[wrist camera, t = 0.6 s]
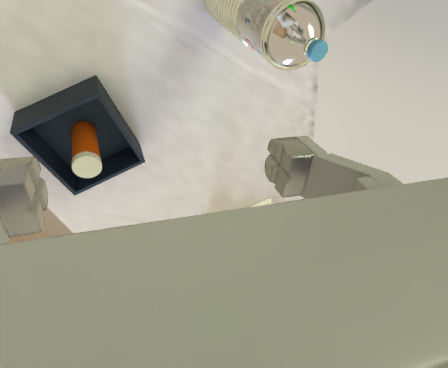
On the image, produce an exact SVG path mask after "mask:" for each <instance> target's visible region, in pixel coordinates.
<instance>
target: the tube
mask: <svg viewBox="0 0 448 368" xmlns="http://www.w3.org/2000/svg"><path fill="white" fill-rule="evenodd" d="M71 137H72V170H73V172H74V173H75V174H76V175H77V176H79V177H82V178H92V177H95V176H97V175H98V174H99V173H100V172H101V170H102V162H101V158H100V153H99V146H98V139H97V132H96V128H95V126H94V125H93V124H92V123H90V122H87V121H79V122H76V123H75V124H74V125H73V126H72V128H71Z"/></svg>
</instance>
